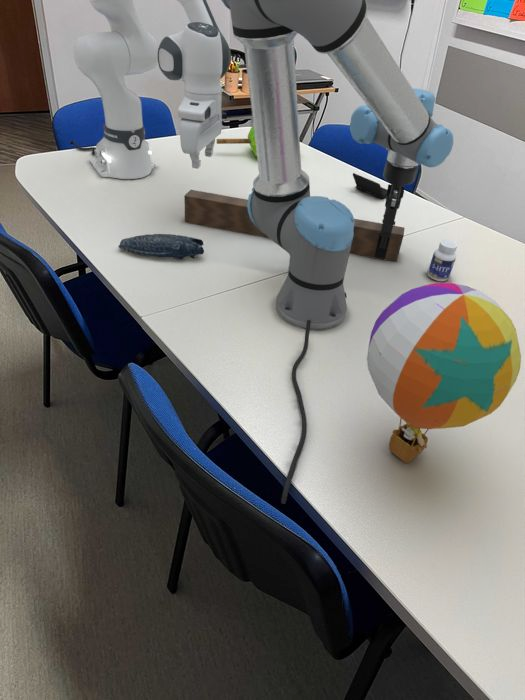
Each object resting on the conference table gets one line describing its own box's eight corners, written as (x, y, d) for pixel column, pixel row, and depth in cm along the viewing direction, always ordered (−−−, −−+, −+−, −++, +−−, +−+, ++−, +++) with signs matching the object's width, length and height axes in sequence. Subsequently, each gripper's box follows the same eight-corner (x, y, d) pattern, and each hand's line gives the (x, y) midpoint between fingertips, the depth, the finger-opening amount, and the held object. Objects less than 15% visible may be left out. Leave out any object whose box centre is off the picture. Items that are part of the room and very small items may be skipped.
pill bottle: (425, 278, 127) (436, 245, 122) (428, 268, 131) (438, 236, 126) (447, 283, 126) (459, 250, 120) (449, 273, 130) (460, 241, 124)
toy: (317, 443, 83) (351, 282, 64) (393, 393, 94) (441, 242, 75) (417, 530, 72) (494, 366, 53) (490, 462, 83) (575, 305, 64)
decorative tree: (213, 119, 187) (294, 118, 192) (214, 148, 193) (292, 147, 198) (219, 133, 173) (306, 132, 178) (220, 165, 179) (303, 163, 185)
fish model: (201, 265, 124) (201, 246, 121) (115, 255, 125) (113, 236, 122) (206, 252, 129) (206, 234, 126) (124, 243, 130) (122, 224, 127)
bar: (397, 253, 137) (404, 227, 132) (396, 262, 133) (403, 235, 128) (190, 215, 146) (190, 189, 141) (184, 222, 142) (184, 195, 137)
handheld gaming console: (396, 188, 169) (390, 167, 160) (387, 206, 167) (380, 186, 159) (365, 182, 175) (357, 162, 166) (355, 200, 174) (347, 180, 165)
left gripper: (205, 92, 133) (204, 147, 141) (174, 111, 117) (176, 172, 126) (228, 96, 132) (226, 151, 140) (200, 115, 116) (200, 176, 125)
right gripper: (388, 149, 128) (369, 235, 143) (383, 173, 114) (362, 265, 129) (419, 154, 127) (396, 240, 141) (417, 178, 113) (392, 271, 128)
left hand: (202, 161), depth 133 cm, fingers open, 8 cm apart
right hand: (380, 252), depth 135 cm, fingers closed on bar, 5 cm apart
